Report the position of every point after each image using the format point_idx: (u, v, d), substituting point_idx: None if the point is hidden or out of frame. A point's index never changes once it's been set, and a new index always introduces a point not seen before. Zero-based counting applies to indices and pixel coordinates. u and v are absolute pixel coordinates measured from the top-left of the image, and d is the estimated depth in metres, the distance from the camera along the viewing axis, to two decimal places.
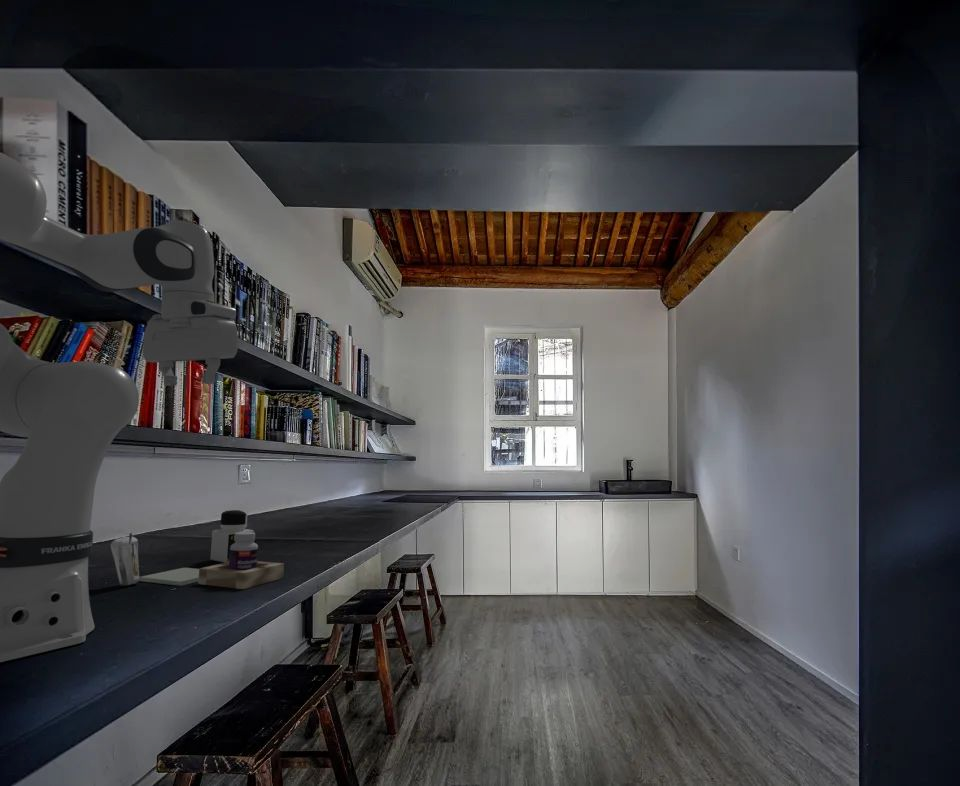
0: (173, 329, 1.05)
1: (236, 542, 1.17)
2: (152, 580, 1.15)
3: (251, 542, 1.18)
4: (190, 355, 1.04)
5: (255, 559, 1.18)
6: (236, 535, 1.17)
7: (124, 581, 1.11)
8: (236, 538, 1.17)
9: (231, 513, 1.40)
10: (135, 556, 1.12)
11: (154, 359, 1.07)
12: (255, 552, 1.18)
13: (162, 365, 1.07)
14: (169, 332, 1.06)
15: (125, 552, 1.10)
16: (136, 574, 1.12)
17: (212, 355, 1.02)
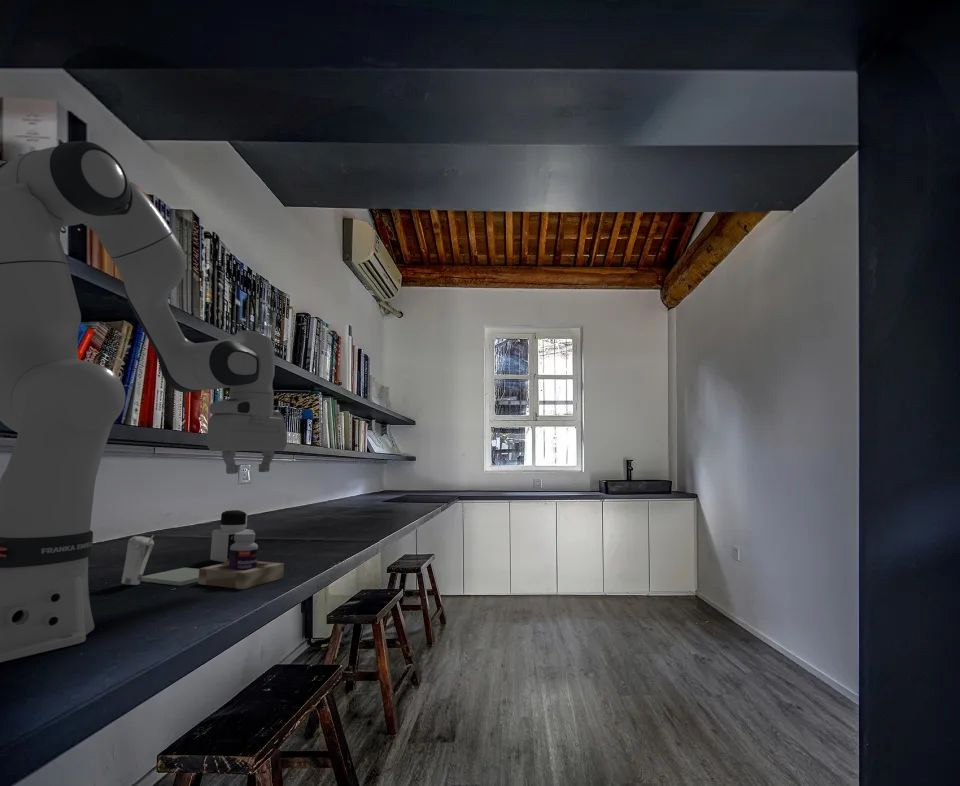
0: None
1: (236, 542, 1.17)
2: (152, 580, 1.15)
3: (251, 542, 1.18)
4: None
5: (255, 559, 1.18)
6: (236, 535, 1.17)
7: (127, 580, 1.11)
8: (236, 538, 1.17)
9: (231, 513, 1.40)
10: (146, 558, 1.13)
11: None
12: (255, 552, 1.18)
13: None
14: None
15: (140, 551, 1.12)
16: (140, 576, 1.12)
17: None
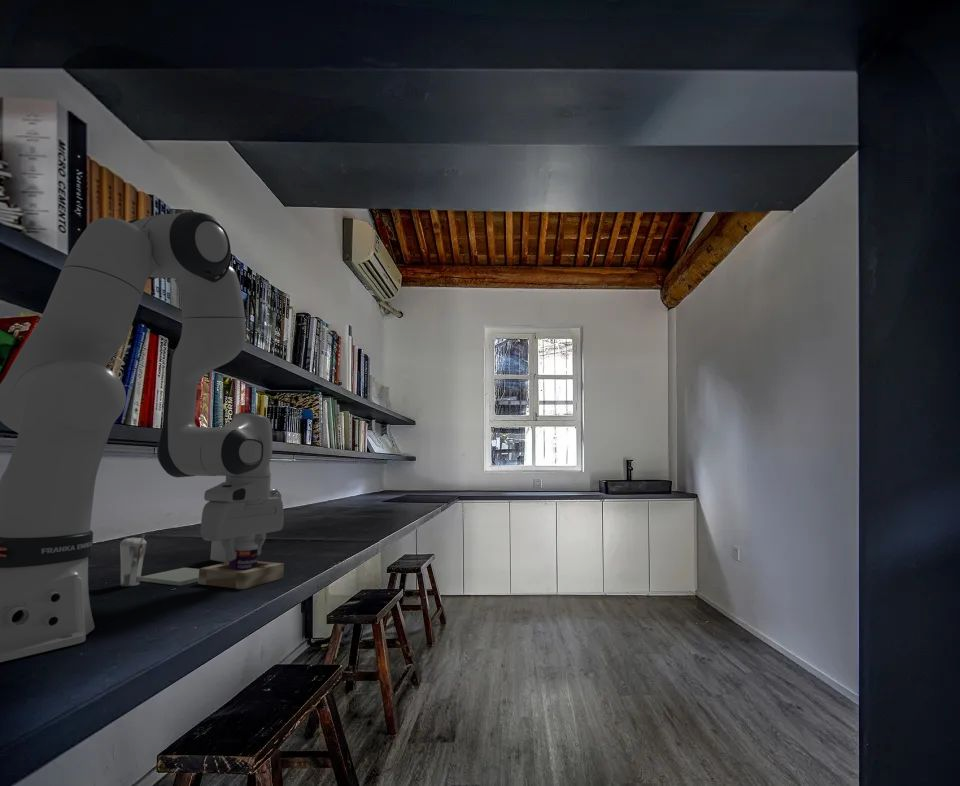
0: None
1: (236, 542, 1.17)
2: (152, 580, 1.15)
3: (251, 542, 1.18)
4: None
5: (255, 559, 1.18)
6: None
7: (126, 582, 1.11)
8: (236, 538, 1.17)
9: None
10: (142, 558, 1.13)
11: None
12: (255, 552, 1.18)
13: None
14: None
15: (134, 552, 1.11)
16: (139, 576, 1.12)
17: None
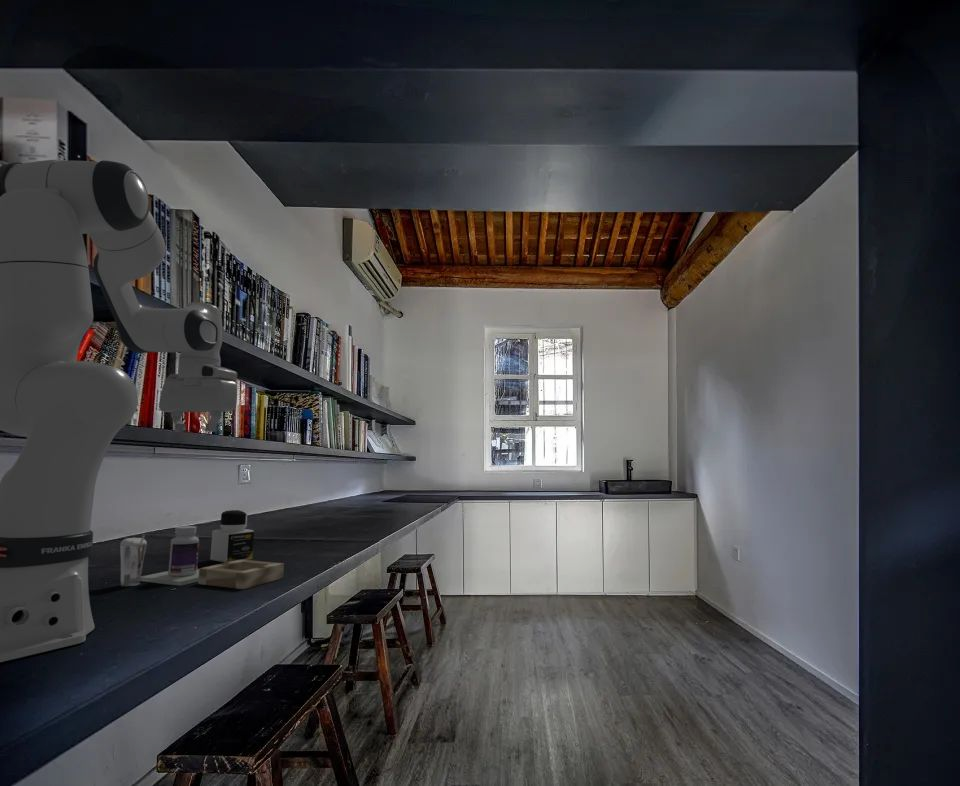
0: (186, 386, 1.32)
1: (189, 536, 1.19)
2: (152, 580, 1.15)
3: None
4: (198, 408, 1.30)
5: None
6: (191, 529, 1.19)
7: (126, 582, 1.11)
8: (191, 532, 1.19)
9: (231, 513, 1.40)
10: (142, 558, 1.13)
11: (168, 410, 1.33)
12: None
13: (174, 415, 1.33)
14: (182, 389, 1.32)
15: (134, 552, 1.11)
16: (139, 576, 1.12)
17: (216, 408, 1.28)
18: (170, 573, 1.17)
